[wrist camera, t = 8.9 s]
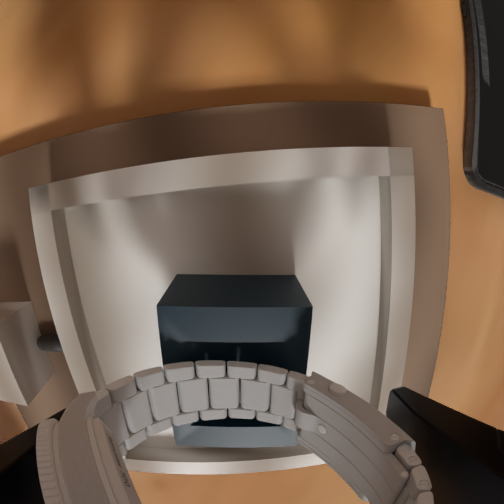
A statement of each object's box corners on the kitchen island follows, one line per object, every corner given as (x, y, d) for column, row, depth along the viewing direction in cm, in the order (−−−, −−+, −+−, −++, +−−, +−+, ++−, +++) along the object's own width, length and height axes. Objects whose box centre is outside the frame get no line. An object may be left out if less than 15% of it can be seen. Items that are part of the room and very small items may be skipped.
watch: (126, 273, 12) (-91, 502, 1) (341, 274, 12) (558, 518, 1) (143, 393, 13) (64, 618, 2) (325, 395, 13) (407, 623, 2)
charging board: (48, 443, 16) (26, 481, 12) (-33, 173, 12) (-83, 178, 8) (410, 428, 16) (436, 470, 12) (431, 112, 12) (484, 97, 8)
